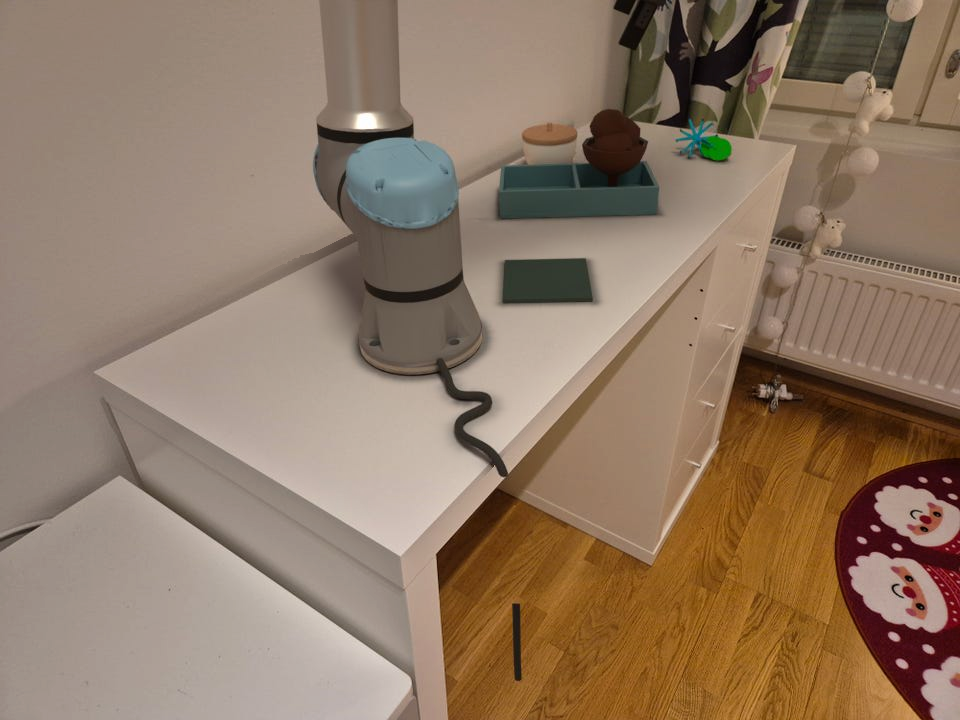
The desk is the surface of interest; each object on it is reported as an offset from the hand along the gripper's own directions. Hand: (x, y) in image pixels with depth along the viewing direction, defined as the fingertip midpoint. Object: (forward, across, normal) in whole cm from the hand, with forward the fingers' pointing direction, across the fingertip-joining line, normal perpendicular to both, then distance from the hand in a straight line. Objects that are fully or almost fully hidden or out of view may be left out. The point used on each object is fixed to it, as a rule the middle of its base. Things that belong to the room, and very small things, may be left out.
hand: (623, 28), depth 100 cm
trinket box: (+33, +11, -2) cm, 35 cm away
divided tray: (+28, -5, -4) cm, 29 cm away
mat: (+23, -35, +2) cm, 42 cm away
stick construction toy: (+23, +19, -32) cm, 43 cm away
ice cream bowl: (+25, -5, -10) cm, 27 cm away
